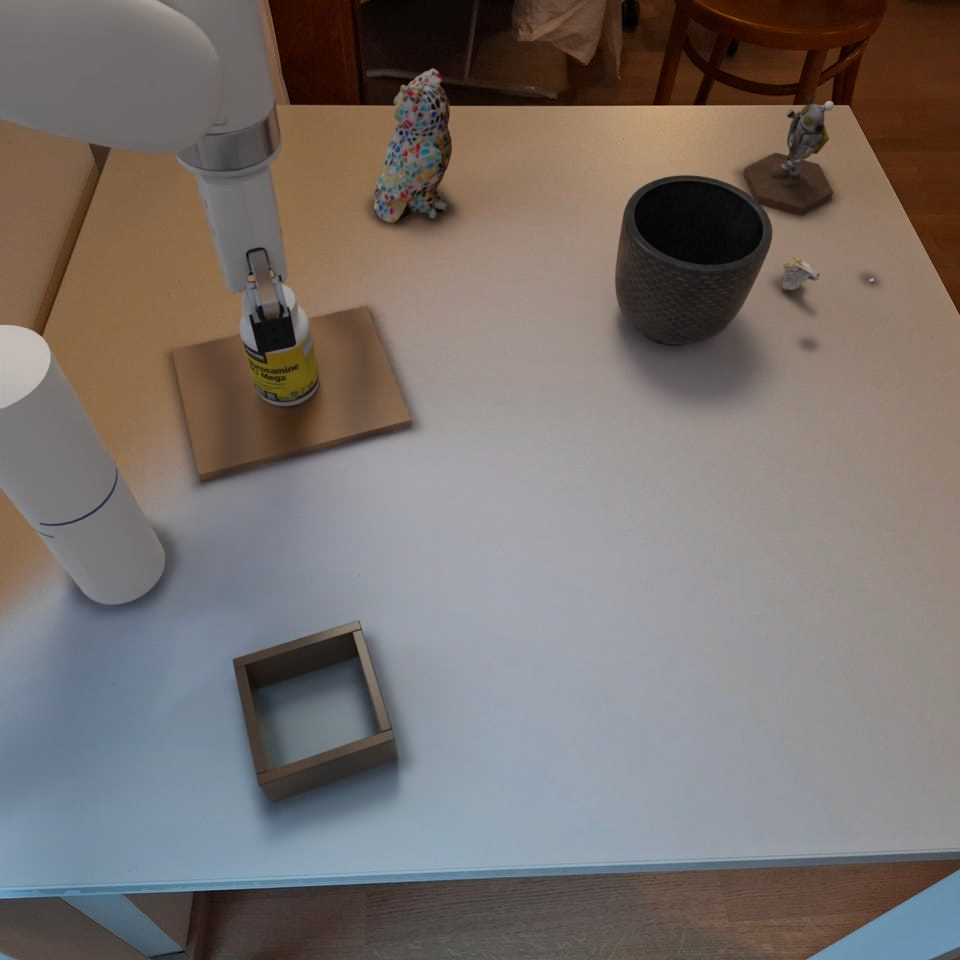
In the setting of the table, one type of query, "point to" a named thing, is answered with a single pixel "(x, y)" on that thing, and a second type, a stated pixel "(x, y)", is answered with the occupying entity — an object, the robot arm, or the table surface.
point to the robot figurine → (794, 165)
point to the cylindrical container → (69, 477)
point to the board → (288, 429)
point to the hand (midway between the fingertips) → (265, 308)
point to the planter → (688, 257)
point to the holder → (296, 662)
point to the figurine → (416, 151)
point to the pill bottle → (282, 358)
